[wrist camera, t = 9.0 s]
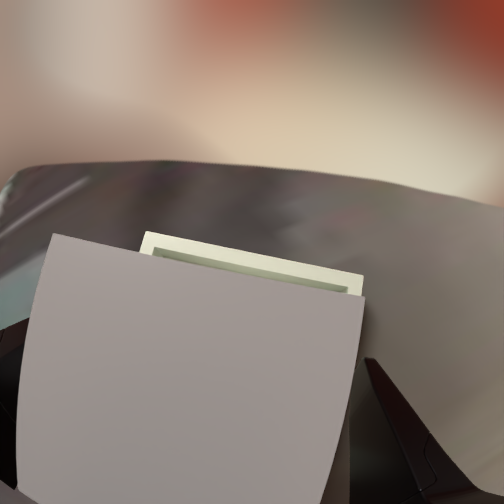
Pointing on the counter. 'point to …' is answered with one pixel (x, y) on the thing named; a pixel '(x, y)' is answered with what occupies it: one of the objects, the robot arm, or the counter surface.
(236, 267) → the tray
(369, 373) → the robot arm
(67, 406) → the tall square pillar
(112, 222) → the counter surface
